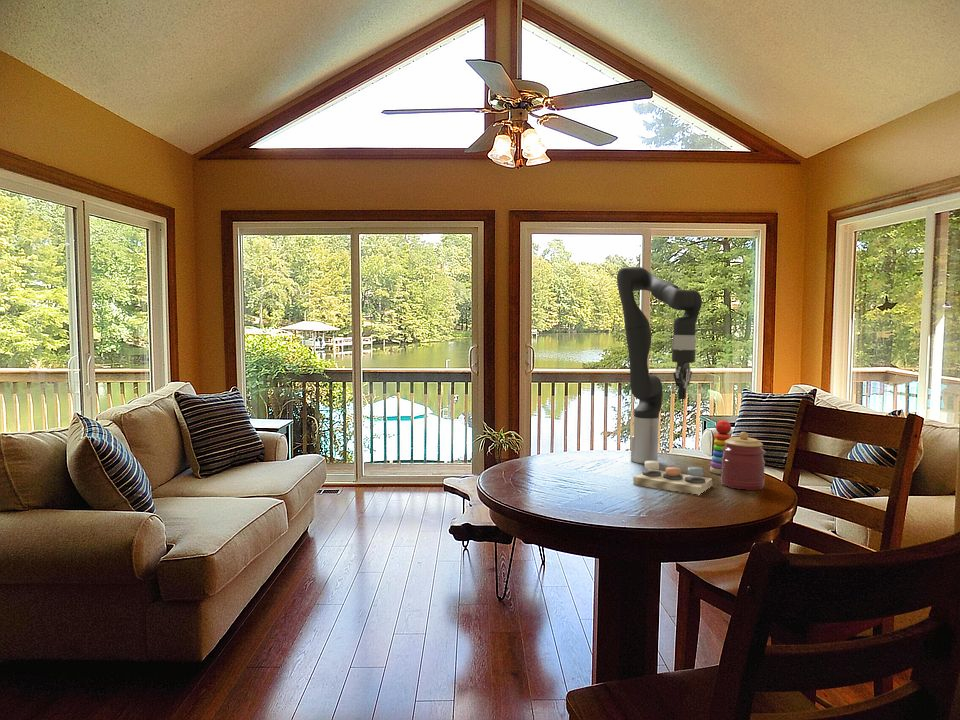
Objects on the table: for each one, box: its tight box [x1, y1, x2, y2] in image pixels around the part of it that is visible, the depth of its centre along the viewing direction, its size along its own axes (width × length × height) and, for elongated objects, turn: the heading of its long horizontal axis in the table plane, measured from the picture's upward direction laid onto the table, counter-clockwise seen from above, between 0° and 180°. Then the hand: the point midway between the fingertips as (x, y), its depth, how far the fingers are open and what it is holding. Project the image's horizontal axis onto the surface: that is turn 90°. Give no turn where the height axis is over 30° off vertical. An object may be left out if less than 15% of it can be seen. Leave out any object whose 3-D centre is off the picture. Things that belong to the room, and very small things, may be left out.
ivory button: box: [644, 461, 660, 471], centre depth 194 cm, size 5×5×2 cm
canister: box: [720, 431, 766, 491], centre depth 190 cm, size 13×13×18 cm
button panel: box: [632, 469, 713, 496], centre depth 190 cm, size 21×14×3 cm, turn 54°
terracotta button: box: [665, 466, 682, 476], centre depth 189 cm, size 5×5×2 cm
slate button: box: [686, 466, 704, 477], centre depth 185 cm, size 5×5×2 cm
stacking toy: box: [709, 419, 732, 475], centre depth 208 cm, size 8×8×19 cm
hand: (681, 398), depth 201 cm, fingers closed
